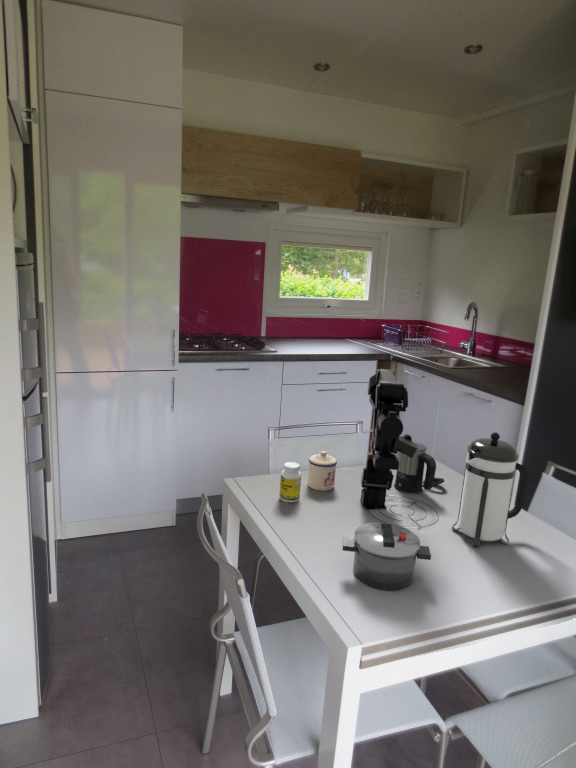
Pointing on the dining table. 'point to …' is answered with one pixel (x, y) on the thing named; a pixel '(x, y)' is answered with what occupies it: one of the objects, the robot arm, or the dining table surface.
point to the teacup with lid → (321, 471)
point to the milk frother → (416, 471)
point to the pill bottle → (290, 482)
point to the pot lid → (387, 540)
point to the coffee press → (489, 489)
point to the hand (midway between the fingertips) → (380, 482)
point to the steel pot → (384, 567)
